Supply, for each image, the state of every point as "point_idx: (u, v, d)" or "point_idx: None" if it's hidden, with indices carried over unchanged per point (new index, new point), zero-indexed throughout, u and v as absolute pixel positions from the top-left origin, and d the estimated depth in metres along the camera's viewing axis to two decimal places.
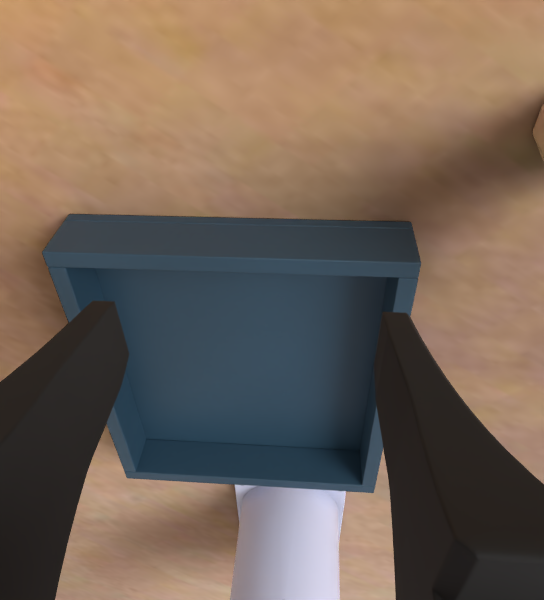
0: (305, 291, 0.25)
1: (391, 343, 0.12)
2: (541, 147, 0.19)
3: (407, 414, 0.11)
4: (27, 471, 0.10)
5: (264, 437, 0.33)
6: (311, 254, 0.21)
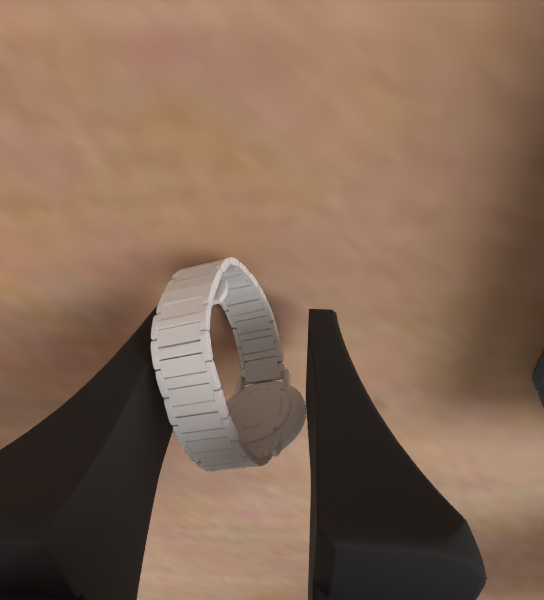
0: None
1: (309, 340, 0.12)
2: None
3: (315, 409, 0.11)
4: (118, 476, 0.10)
5: None
6: None
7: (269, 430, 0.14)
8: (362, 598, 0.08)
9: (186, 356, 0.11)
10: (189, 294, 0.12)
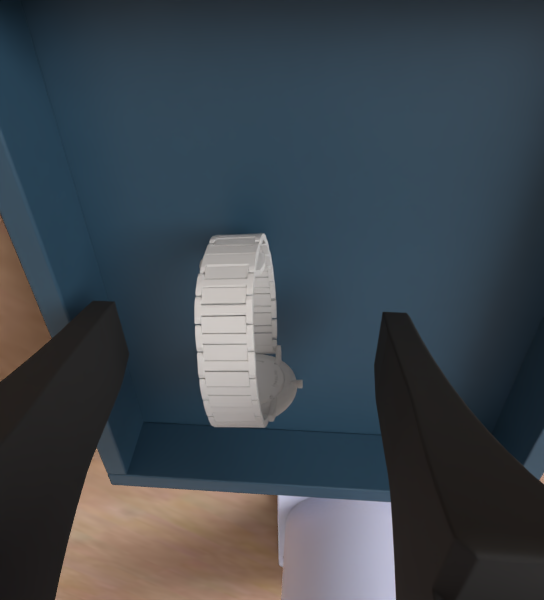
0: (466, 111, 0.12)
1: (391, 343, 0.12)
2: None
3: (407, 414, 0.11)
4: (27, 470, 0.10)
5: (334, 419, 0.21)
6: None
7: (265, 398, 0.15)
8: None
9: (229, 315, 0.12)
10: (233, 260, 0.12)
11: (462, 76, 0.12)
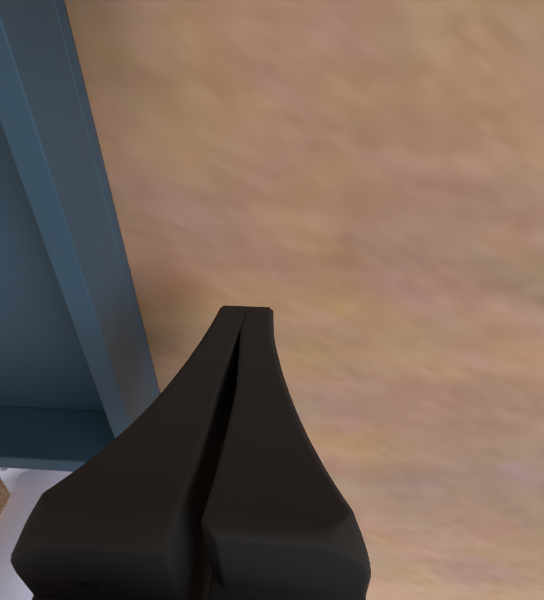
0: None
1: (240, 337, 0.12)
2: None
3: None
4: (206, 482, 0.10)
5: None
6: None
7: None
8: (257, 590, 0.08)
9: None
10: None
11: None
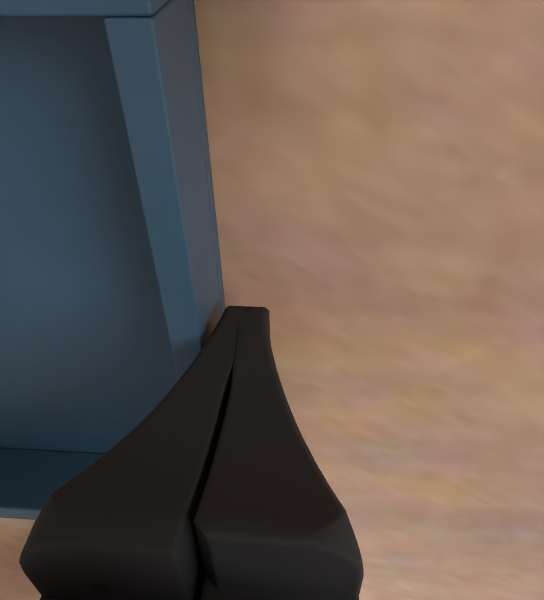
0: (6, 132, 0.12)
1: (235, 337, 0.12)
2: None
3: None
4: None
5: (58, 438, 0.20)
6: None
7: None
8: (250, 590, 0.08)
9: None
10: None
11: None
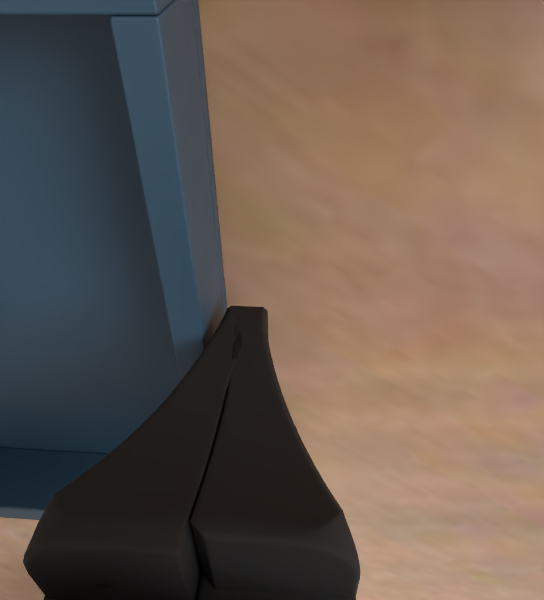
0: (9, 131, 0.12)
1: (233, 336, 0.12)
2: None
3: None
4: None
5: (59, 437, 0.20)
6: None
7: None
8: (247, 589, 0.08)
9: None
10: None
11: None
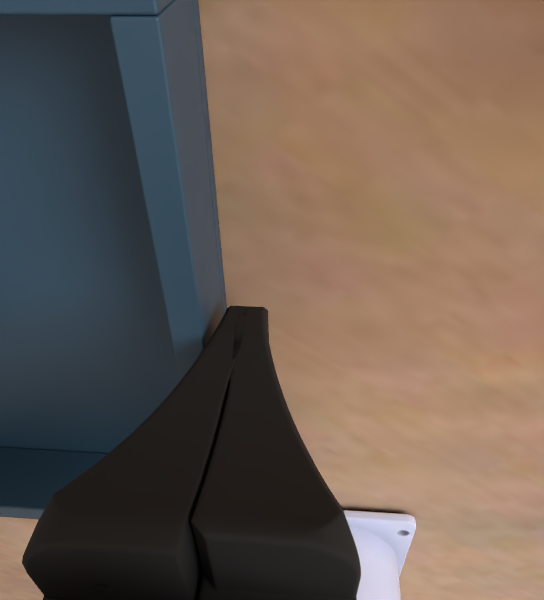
0: (9, 130, 0.12)
1: (234, 336, 0.12)
2: None
3: None
4: None
5: (58, 437, 0.20)
6: None
7: None
8: (248, 589, 0.08)
9: None
10: None
11: None
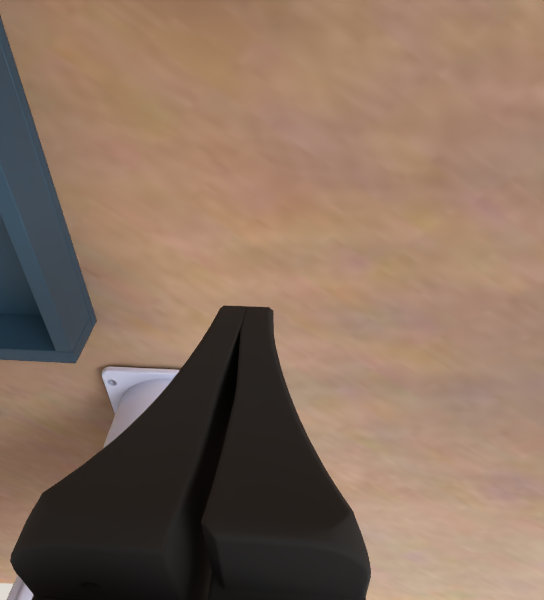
0: None
1: (240, 337, 0.12)
2: None
3: None
4: (206, 481, 0.10)
5: None
6: None
7: None
8: (257, 590, 0.08)
9: None
10: None
11: None
